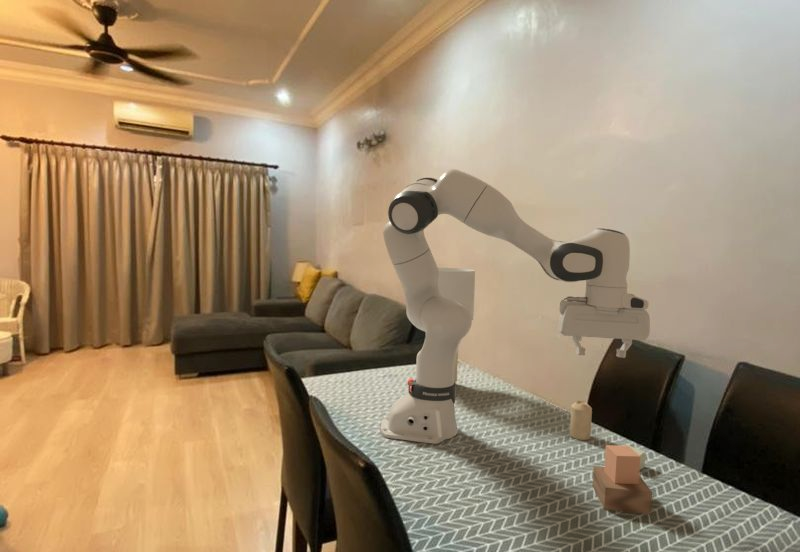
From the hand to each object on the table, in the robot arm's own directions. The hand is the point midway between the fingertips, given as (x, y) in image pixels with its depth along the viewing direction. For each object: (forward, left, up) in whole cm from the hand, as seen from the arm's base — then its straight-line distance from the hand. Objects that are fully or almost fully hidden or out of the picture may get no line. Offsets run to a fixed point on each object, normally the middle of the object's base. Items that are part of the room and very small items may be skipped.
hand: (600, 355), depth 106 cm
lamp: (-34, +61, -29) cm, 76 cm away
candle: (+4, +20, -29) cm, 35 cm away
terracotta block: (+1, -11, -24) cm, 26 cm away
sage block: (+10, +4, -29) cm, 31 cm away
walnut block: (+1, -12, -29) cm, 31 cm away
